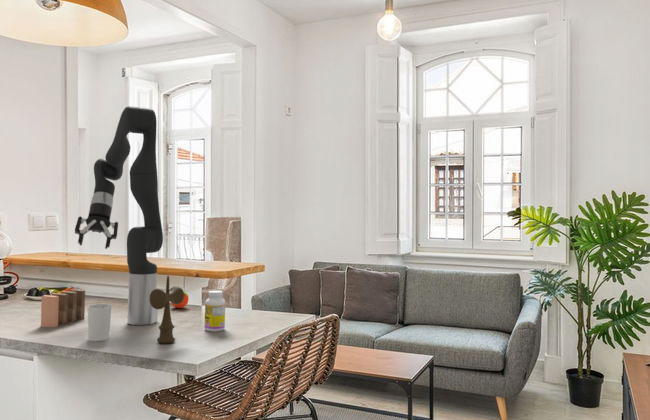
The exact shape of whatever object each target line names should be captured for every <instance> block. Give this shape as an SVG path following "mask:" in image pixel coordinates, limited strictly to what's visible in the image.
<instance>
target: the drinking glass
mask: <svg viewBox="0 0 650 420" xmlns="http://www.w3.org/2000/svg"><path fill="white" fill-rule="evenodd" d="M111 315H112V304H109V303H95V304H93V303H92V304H89V305H87V332H88V333H87V334H88V335H87V340H88V341H90V342H102V341H108V340H109V339H110V329H111V317H112V316H111Z"/></svg>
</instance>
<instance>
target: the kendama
mask: <svg viewBox="0 0 650 420" xmlns="http://www.w3.org/2000/svg"><path fill="white" fill-rule="evenodd" d="M183 291H184V290H183V288H181V287H180V286H177V285H176V286H172V287H170V276H169V275H167V276H166V284H165V291H164V290H163V289H160V288H156V289H154V290H153V291H152V292H151V294H150V304H151V306H152V307H153V308H155V309H158V310H162V309H163V314H162V319H161V322H160V323H161V324H160V325H159V326H158V329H159V337H158V338H157V340H156V342H158V343H159V344H163V345H164V344H165V345H166V344H172V343H174V342H175V341H176V338H175V337H174V335H173V333H174V331H173V330H174V329H175V325H174V324H173V322H172V316H171V307H170V305H171V303H174V304H180V303H182V301H183V299H184V292H185V291H184V292H183Z"/></svg>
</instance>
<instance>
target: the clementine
mask: <svg viewBox="0 0 650 420" xmlns="http://www.w3.org/2000/svg"><path fill="white" fill-rule="evenodd" d="M183 292H184V299H183V301H182V303H180V304H174V303H171V302H170V305H172V307H174V308H176V309H183V308H185V307H186V306H187V305H188V303H189V299H190V298H189V294H188V293H187V292H186V291H184V290H183Z"/></svg>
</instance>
